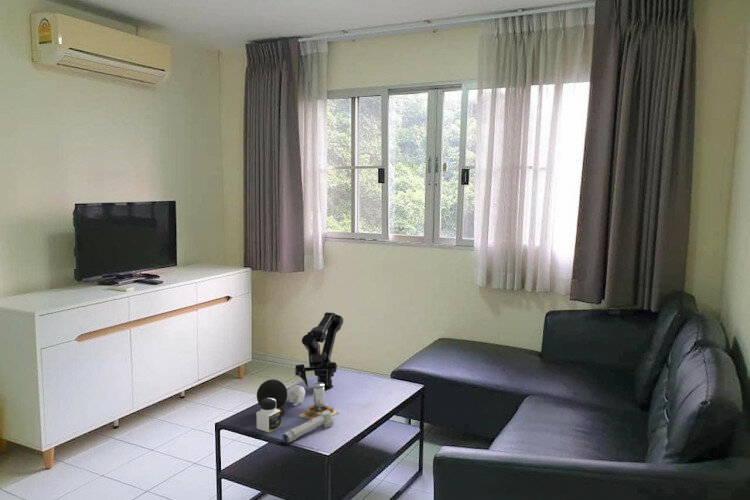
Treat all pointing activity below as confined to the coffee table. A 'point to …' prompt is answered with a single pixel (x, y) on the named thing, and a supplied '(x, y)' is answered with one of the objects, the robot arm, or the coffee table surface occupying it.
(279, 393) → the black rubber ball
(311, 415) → the jig
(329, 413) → the octagon-capped white rod
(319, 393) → the metal canister
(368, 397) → the coffee table surface
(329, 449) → the coffee table surface
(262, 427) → the medicine bottle
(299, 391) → the white rounded lump
